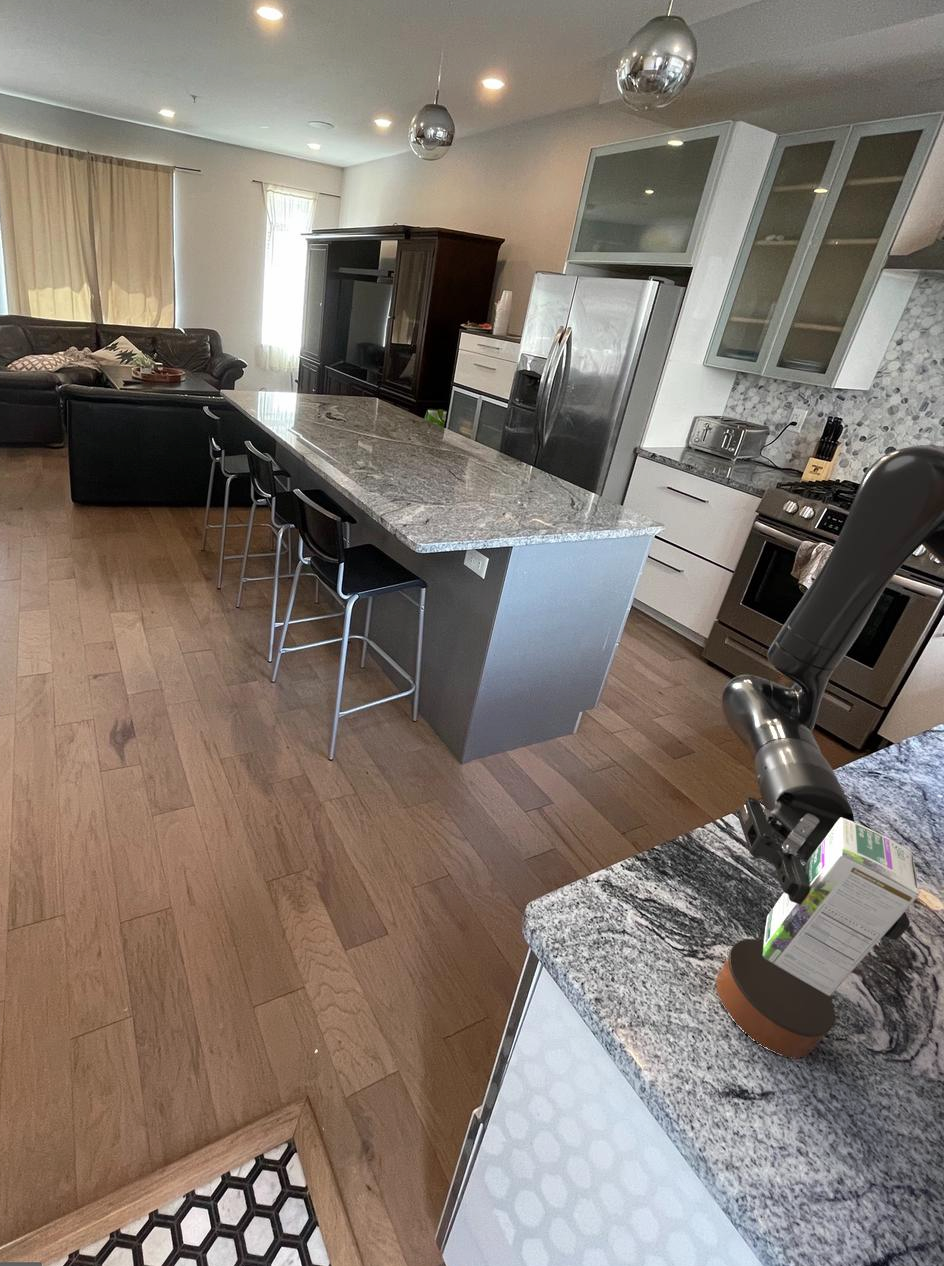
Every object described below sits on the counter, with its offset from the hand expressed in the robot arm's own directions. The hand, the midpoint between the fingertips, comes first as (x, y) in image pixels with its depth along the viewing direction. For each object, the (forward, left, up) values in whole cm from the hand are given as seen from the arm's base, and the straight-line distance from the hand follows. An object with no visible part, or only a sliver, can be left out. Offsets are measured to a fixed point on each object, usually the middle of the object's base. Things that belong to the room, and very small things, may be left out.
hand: (848, 914), depth 54 cm
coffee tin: (-2, -1, -17) cm, 17 cm away
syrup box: (-1, -1, -8) cm, 9 cm away
